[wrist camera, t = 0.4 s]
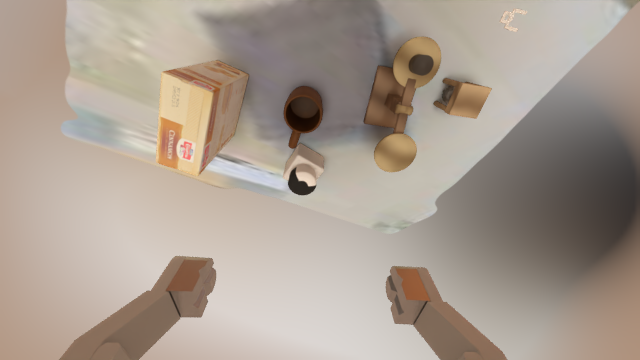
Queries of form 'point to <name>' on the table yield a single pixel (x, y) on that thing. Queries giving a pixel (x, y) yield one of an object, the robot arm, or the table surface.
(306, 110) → the mug
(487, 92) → the tan peg block
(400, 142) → the balance
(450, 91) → the grey domed cylinder
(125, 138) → the table surface
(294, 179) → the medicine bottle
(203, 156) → the coffeecake box
